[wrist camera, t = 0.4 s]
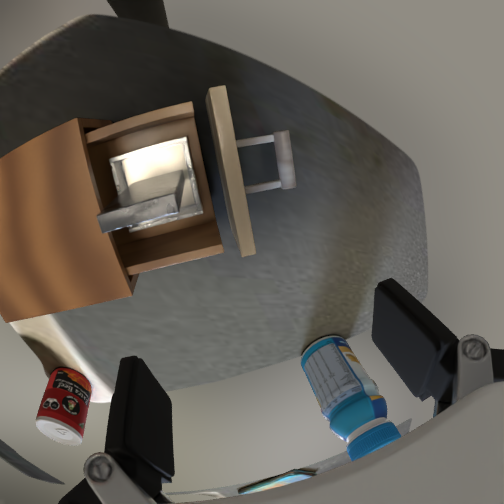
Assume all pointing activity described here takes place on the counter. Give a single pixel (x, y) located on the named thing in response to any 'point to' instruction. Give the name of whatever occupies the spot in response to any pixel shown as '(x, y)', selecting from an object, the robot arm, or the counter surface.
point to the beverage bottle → (348, 397)
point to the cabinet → (55, 228)
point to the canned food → (64, 407)
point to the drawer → (204, 225)
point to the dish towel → (278, 481)
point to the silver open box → (152, 187)
